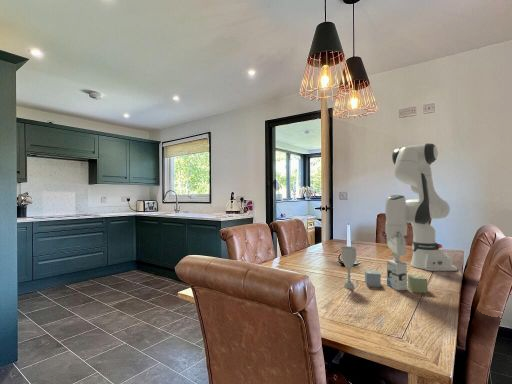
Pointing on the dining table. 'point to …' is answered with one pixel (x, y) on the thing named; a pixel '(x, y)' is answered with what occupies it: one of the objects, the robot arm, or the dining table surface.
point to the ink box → (397, 275)
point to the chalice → (348, 263)
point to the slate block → (372, 278)
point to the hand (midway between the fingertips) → (396, 261)
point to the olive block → (417, 283)
